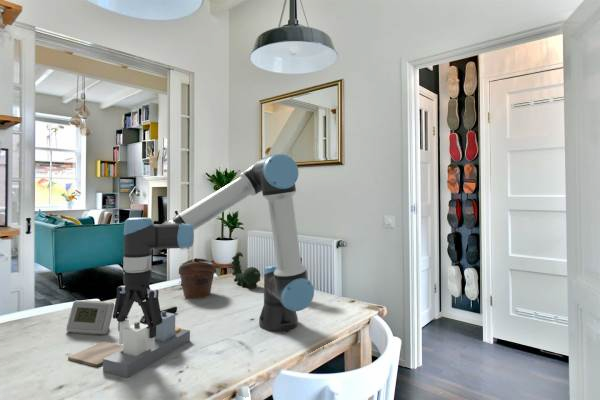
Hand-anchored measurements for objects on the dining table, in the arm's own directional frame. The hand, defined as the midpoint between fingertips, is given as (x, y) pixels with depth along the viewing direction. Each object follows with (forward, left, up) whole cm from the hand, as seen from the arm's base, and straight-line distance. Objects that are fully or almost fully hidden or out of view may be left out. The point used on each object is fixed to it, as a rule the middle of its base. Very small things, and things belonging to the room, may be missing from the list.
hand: (136, 345), depth 102 cm
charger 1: (0, 0, -4) cm, 4 cm away
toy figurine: (+14, -90, -5) cm, 91 cm away
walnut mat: (+14, 0, -5) cm, 15 cm away
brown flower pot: (+28, -64, -5) cm, 71 cm away
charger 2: (0, -11, -4) cm, 12 cm away
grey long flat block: (0, -6, -5) cm, 7 cm away
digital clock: (+33, -11, -5) cm, 35 cm away
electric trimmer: (+21, -32, -6) cm, 39 cm away
